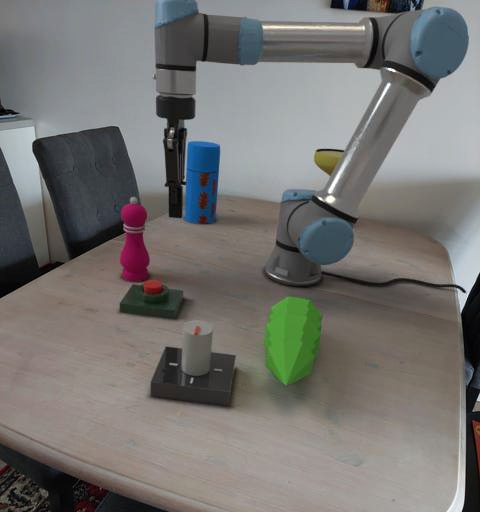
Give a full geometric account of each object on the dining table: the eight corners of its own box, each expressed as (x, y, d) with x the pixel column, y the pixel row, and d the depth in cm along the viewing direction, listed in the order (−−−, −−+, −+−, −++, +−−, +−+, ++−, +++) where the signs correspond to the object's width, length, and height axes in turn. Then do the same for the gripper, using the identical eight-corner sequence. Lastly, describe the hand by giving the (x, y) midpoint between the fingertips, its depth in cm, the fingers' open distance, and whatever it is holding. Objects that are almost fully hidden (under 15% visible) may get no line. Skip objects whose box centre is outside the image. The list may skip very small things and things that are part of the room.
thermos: (184, 213, 168) (187, 140, 156) (214, 215, 169) (219, 142, 157) (184, 223, 159) (187, 145, 147) (215, 225, 160) (221, 148, 148)
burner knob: (183, 357, 83) (185, 316, 79) (211, 360, 83) (215, 320, 79) (178, 374, 79) (180, 331, 75) (208, 377, 79) (211, 335, 75)
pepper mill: (143, 284, 114) (142, 203, 105) (115, 279, 115) (112, 198, 106) (153, 273, 121) (154, 195, 111) (127, 268, 122) (125, 191, 112)
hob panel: (234, 368, 87) (236, 354, 85) (228, 406, 77) (229, 391, 76) (165, 359, 87) (165, 345, 86) (150, 396, 78) (150, 380, 76)
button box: (183, 298, 110) (183, 283, 108) (174, 319, 101) (175, 302, 99) (132, 292, 110) (132, 277, 108) (119, 312, 101) (119, 295, 99)
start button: (163, 288, 105) (163, 281, 105) (159, 295, 102) (159, 288, 101) (146, 286, 106) (146, 279, 105) (141, 293, 102) (141, 286, 101)
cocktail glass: (304, 213, 183) (315, 146, 171) (350, 219, 181) (365, 152, 169) (303, 227, 167) (315, 154, 155) (354, 234, 166) (370, 161, 153)
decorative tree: (317, 278, 97) (312, 349, 70) (328, 327, 101) (328, 411, 74) (264, 289, 100) (240, 361, 73) (277, 336, 104) (259, 420, 77)
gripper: (163, 91, 95) (164, 207, 106) (148, 96, 83) (151, 224, 95) (200, 94, 95) (197, 209, 106) (190, 99, 83) (188, 227, 95)
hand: (175, 216), depth 100 cm, fingers closed
